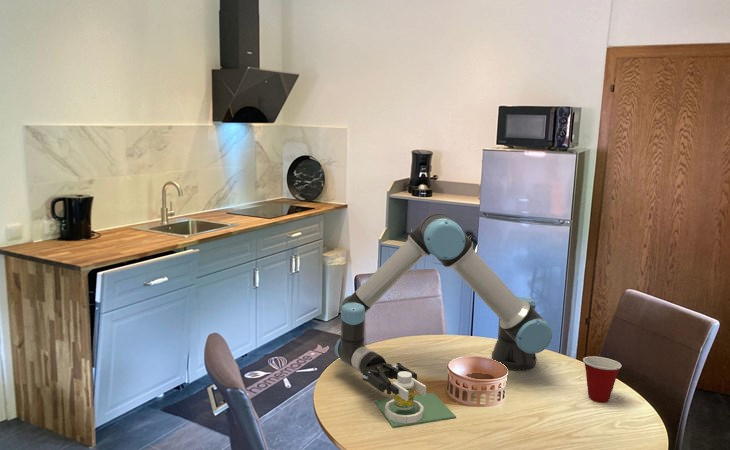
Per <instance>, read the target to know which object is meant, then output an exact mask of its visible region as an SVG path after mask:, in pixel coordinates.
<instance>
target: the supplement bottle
mask: <svg viewBox="0 0 730 450" xmlns="http://www.w3.org/2000/svg"><path fill="white" fill-rule="evenodd" d="M397 378H398V379H397V380H396V379H395V381H394V382H395V383H397V384H398V385H400V386H401V387H403V388H405V389H406V390H408V391H409V395H408V401H405V400H404V399H402V398H401V397H399V396H398V395H395V394H394V398H395V407H396V408H398V409H400V410H409V409H411V408H412V407H413V399H414V395H415V390H414V382H413V381H412V374H411V373H410V372H407V371H401V372H399V373H398V377H397Z"/></svg>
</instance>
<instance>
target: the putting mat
mask: <svg viewBox="0 0 730 450" xmlns="http://www.w3.org/2000/svg"><path fill="white" fill-rule="evenodd" d="M392 399H395V397H394V398H385V399H381V400H374V404H375V405H376V407H377V408H378V409H379V411H380V412H381V414H382V416H383V417H385V419H386V421H387V422H388V423H389V425H390V426H391V427H392V429H394V428H401V427H407V426H413V425H414V426H415V425H420V424H427V423H433V422H434V423H435V422H439V421H446V420H451V419H452V420H453V419H456V418H457V416H456V415H455V414H454V412H452V410H451V409H450V408H449V407H448V406H447V405H446V404H445V403H444V402H443V400H441V399H440V398H439V397H438V396H437V394H435V392H429V393H426V395H425V396H423V395H421V394H416V395H415V394H414V399H413V400H415V401H418V402H420V403H421V405H422V406H423V407H424V409H423V417H422V419H421V420H419V421H417V422H414V423H408V424H407V423H406V424H405V423H397V422H394V421H392V420H390V419H388V418H387V416H386V415H385V406H386V403H387V402H389V401H391V400H392ZM390 411H391V412H393V413H396V414H399V415H412V414H416V413H417V412H419V411H418V410H417V409H415V408H411V409H409V410H400V409H398V408H396V407H393V408H391V409H390Z"/></svg>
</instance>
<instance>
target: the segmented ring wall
mask: <svg viewBox="0 0 730 450" xmlns="http://www.w3.org/2000/svg"><path fill="white" fill-rule="evenodd" d="M391 399H392V398H391ZM393 407H395V399H392V400H391V401H389V402H387V403H386V406H385V415H386V416H387V418H388V419H390V420H392V421H394V422H397V423H405V424H406V423H407V424H408V423H414V422H417V421H419V420H421V419H422V417H423V409H424V407H423V406H422V405H421V403H420V402H418V401H415V400H413V407H412V408H415V409H417V410H418V411H419V412H417V413H416V414H412V415H399V414H396V413H393V412H391V411H390V409H391V408H393Z"/></svg>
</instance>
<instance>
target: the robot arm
mask: <svg viewBox="0 0 730 450" xmlns="http://www.w3.org/2000/svg"><path fill="white" fill-rule="evenodd" d="M473 247H474V242H473V241H472V239H471V238H470V237H469V236H468V235H467V234H466V233H465V232H464V231H463V228H462V227H461V226H460V225H459V224H458V223H457V222H456V221H454V220H452V218H450V217H449V216H448V215H446V214H443V213H433V214H430V215H428V216H426V217H425V218H423V220H422V221H421V222H419V224H418V225H417V226H416V227H415V228H414V229H413V230H412V231H411V232H410V233H409V234H408V236H407V240H406V241H405V242H404V243H403V244H402V245H401V246H400V247H398V249H397V250H395V252H394V253H393V254H392V255H391V256H390V257H389V258H388V259H387V260H386V261H385V262H384V263H383V264H382V265H380V267H379V268H378V269H377V270H376V271H375V272H374V273H372V274H371V275H370V277H368V278H367V279H366V281H365V282H363V283H362V284H361V285H360V286H359V287H358V288H357V289H356V290H355V291H354V292H353V293H352V294H351V295H347V296H346V297H345V298H344V299H343V300H342V302H341V305H340V338H339V339H338V340H337V341H336V343H335V346H334V352H335V355H336V356H337V358H338V359H340V360H341V361H342V362H343V363H345V364H347V365H349V366H351V367H352V368H353V369H355V371H358V372H359V373H360V374H362V378H361V379H362V381H364V382H366V383H368V384H370V386H371V387H372V386H373V387H374V388H375V389H376V390H378V391H379V392H381V393H384V392H385V391H386V394H387V395H391V394H393V395H394V396H395V395H398V396H399V397H401V398H402V399H404V400H405V401H408V395H409V391H408V390H406V389H405V388H403V387H401V386H400V385H398V384H397V383H395V382H396V380H397V379H398V378H397V377H398V373H399V372H401V371H407V372H410V373H411V374H412V381H413V382H414V392H417V393H418V394H419V395H423V396H425V395H426V394H427V386H426V385H425V384H424V383H422V382H421V381H420V380H418V373H416V372H414V371H413V370H411V369H409V368H407V367H406V366H404V365H403V364H402V363H400V362H396V364H395V365H392V364H391V363H388V362H386V360H385V358H384V357H383V356H382V355H380V354H378V353H377V352H375V351H374V350H372V349H370V348H369V347H367V346H366V345H365V325H366V323H365V322H366V313H367V312H368V311H369V310H370V309H371V308H372V307H373V306H374V305H375V304H376V303H377V302H378V301H379V300H380V299H381V298H382V297H383V296H384V295H385V294H386V293H387V292H388V291H389V290H390V289H391V288H393V286H394V285H396V284H397V283H398V282H399V281H400V280H401V279H402V278H403V277H404V276H405V275H406V274H407V273H408V272H409V271H410V270H411V269H412V268H413V267H414V266H415V265H416V264H418V263H419V262H420V260H421V259H422V258H424V257H429V256H430V255H433V256H434V257H435V258H436V259H437V260H438V261H439V262H440V264H441V265H442V266H444V267H445V268H452V269H453V270H454V272H456V273H457V275H459V277H460V278H461V279H462V280H463V281H464V282H465V283H466V284H467V285H468V286H469V287H470V288H471V290H472V291H474V293H475V294H476V295H477V296H478V297H479V298H480V299H481V300H482V301H483V302H484V303H485V305H486V306H487V307H488V308H489V309H490V310H491V311H492V312H493V313H494V314H495V316H497V317H498V333H497V339H496V342H495V345H494V347H493V350H492V352H491V360H492V359H493V360H496V361H498V362H501V363H502V364H504V365H505V366H506V367H507V368H508V369H507V370H510V371H529V370H532V369H534V368H535V367H537V354H540V353H541V352H543V351H544V350H546V349H547V348H548V347H549V346H550V344H551V343H552V340H553V330H552V327H551V325H550V324H549V322H548V321H547V320H545V319H544V318H543V317H542V315H540V314H539V313H538V312H537V310H536V306H537V305H536V302H535V300H534V299H532V298H530V297H525V296H524V297H523V296H516V294H514V293H513V291H512V290H511V289H510V288H509V287H508V286H507V285H506V284H505V283H504V281H502V279H501V278H500V277H499V276H498V275H497V274H496V273H495V272H494V271H493V270H492V268H491V267H489V265H488V264H487V263H486V262H485V261H484V260H483V258H482V257H481V256H480V255H479V254H478V253H477V252H476V251H475V250H474V248H473ZM390 380H395V381H393V382H392V381H390Z"/></svg>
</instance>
